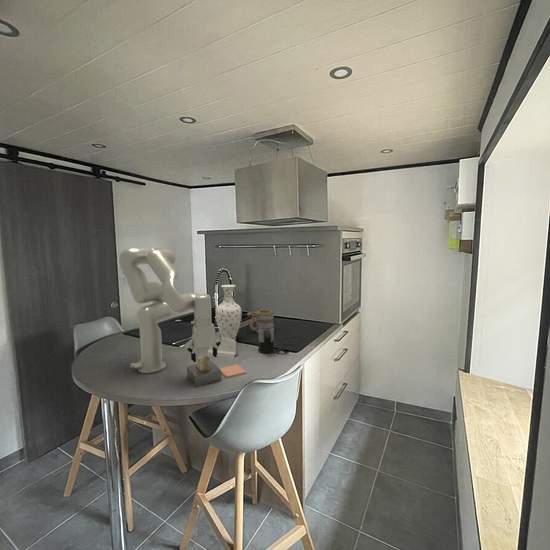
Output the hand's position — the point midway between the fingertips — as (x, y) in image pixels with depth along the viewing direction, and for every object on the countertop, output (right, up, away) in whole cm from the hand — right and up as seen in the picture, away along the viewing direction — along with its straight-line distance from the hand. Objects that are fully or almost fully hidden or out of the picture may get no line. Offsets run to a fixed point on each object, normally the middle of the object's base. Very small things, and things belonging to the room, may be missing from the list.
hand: (204, 358), depth 137 cm
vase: (+3, -4, +54) cm, 54 cm away
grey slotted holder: (-1, -9, +1) cm, 10 cm away
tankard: (+22, -2, +73) cm, 76 cm away
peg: (-1, -10, +1) cm, 10 cm away
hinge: (+3, -6, +32) cm, 33 cm away
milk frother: (+31, -6, +36) cm, 48 cm away
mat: (+11, -9, +9) cm, 17 cm away
